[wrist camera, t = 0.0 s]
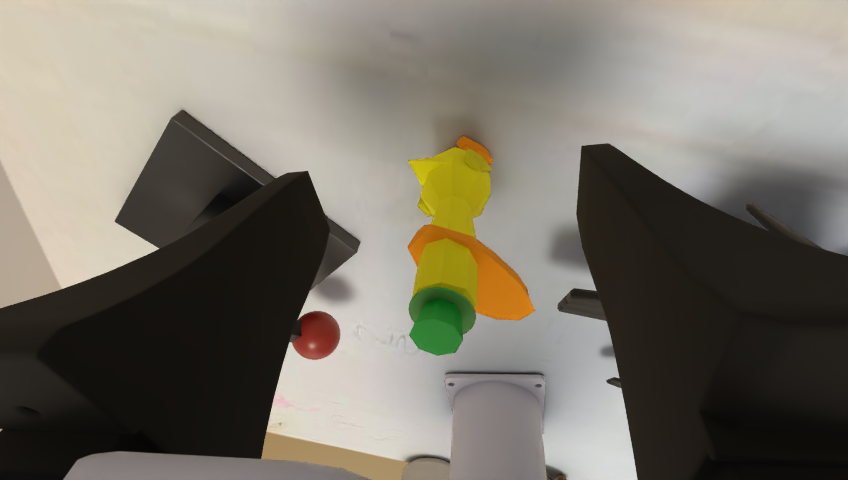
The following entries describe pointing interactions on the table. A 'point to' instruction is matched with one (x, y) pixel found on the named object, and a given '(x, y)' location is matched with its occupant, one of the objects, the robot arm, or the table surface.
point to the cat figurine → (560, 477)
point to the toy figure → (457, 253)
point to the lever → (315, 335)
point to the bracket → (203, 190)
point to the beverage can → (426, 469)
